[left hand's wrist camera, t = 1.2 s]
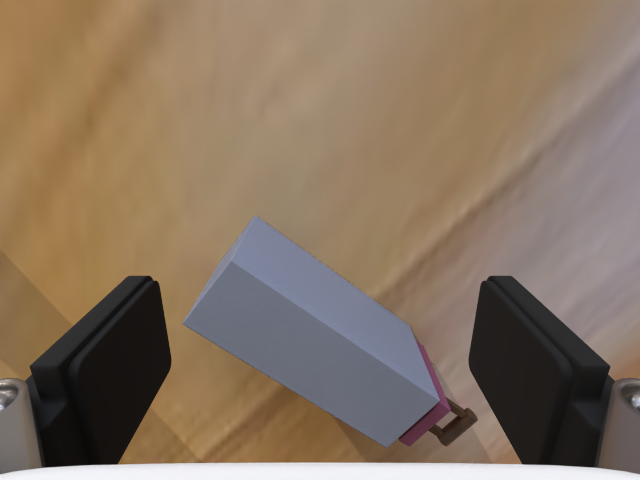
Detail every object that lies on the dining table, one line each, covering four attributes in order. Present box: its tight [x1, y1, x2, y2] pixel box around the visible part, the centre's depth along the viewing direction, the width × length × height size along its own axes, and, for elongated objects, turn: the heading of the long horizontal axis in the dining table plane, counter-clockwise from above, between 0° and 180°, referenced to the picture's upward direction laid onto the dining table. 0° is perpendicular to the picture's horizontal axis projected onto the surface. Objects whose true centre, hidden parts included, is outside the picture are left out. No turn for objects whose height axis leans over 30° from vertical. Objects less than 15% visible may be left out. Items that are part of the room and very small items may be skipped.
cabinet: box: [183, 216, 440, 448], centre depth 33 cm, size 19×6×10 cm, turn 52°
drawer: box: [399, 341, 478, 446], centre depth 34 cm, size 23×5×8 cm, turn 52°
